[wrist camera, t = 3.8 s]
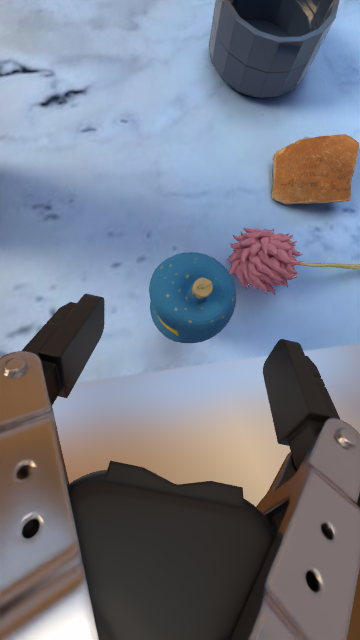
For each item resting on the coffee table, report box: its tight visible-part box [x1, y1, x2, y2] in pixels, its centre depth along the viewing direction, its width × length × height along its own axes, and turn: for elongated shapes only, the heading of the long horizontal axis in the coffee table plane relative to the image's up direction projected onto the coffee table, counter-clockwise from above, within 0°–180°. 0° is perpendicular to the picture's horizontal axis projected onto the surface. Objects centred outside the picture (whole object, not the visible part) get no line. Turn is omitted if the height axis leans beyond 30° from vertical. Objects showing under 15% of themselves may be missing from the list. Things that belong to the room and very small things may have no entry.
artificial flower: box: [227, 228, 360, 295], centre depth 25 cm, size 7×7×25 cm
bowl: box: [209, 0, 339, 98], centre depth 27 cm, size 12×12×6 cm
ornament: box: [149, 253, 236, 343], centre depth 18 cm, size 5×5×15 cm
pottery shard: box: [272, 134, 359, 205], centre depth 27 cm, size 10×9×2 cm
